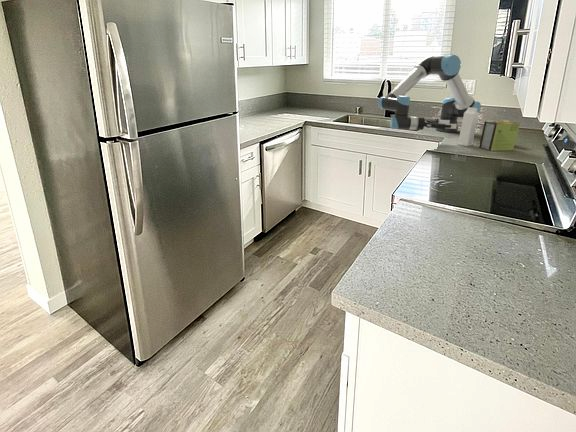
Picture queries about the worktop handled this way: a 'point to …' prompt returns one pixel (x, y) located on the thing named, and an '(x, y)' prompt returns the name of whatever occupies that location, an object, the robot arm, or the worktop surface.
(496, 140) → the protein box
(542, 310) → the worktop surface
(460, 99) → the robot arm
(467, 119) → the milk
